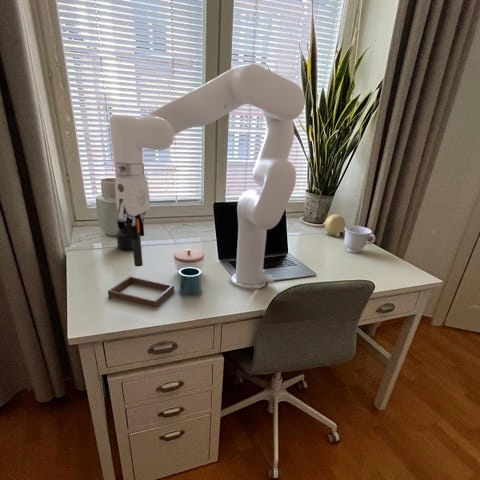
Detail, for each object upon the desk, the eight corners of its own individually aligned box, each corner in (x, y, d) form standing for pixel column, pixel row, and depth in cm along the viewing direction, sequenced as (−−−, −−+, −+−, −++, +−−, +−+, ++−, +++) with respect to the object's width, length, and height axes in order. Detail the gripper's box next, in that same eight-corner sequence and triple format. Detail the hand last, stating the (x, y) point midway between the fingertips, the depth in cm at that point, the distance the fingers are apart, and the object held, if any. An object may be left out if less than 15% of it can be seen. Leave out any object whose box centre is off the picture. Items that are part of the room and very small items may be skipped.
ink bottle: (143, 249, 146) (140, 221, 139) (122, 253, 141) (118, 224, 135) (135, 242, 152) (132, 215, 146) (114, 245, 148) (111, 217, 141)
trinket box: (206, 279, 125) (206, 254, 120) (176, 281, 122) (175, 256, 117) (200, 267, 134) (200, 243, 129) (172, 269, 131) (171, 245, 126)
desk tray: (174, 292, 115) (173, 285, 114) (155, 309, 105) (155, 301, 104) (130, 283, 119) (129, 276, 118) (108, 298, 109) (107, 291, 108)
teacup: (362, 259, 151) (368, 237, 146) (334, 249, 161) (339, 227, 155) (377, 254, 158) (383, 232, 153) (349, 244, 168) (354, 223, 162)
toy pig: (330, 244, 177) (348, 234, 170) (317, 224, 175) (336, 212, 168) (335, 238, 184) (352, 228, 177) (323, 219, 182) (341, 208, 175)
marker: (144, 264, 107) (140, 219, 100) (140, 267, 105) (135, 221, 98) (137, 262, 108) (133, 217, 100) (132, 265, 106) (128, 219, 98)
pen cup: (204, 289, 118) (204, 269, 114) (195, 298, 112) (195, 277, 108) (185, 286, 120) (184, 265, 116) (176, 294, 114) (175, 273, 110)
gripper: (124, 175, 85) (131, 247, 94) (157, 167, 98) (161, 231, 107) (98, 171, 86) (107, 243, 96) (134, 164, 99) (139, 227, 109)
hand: (135, 236), depth 102 cm, fingers closed on marker, 2 cm apart
